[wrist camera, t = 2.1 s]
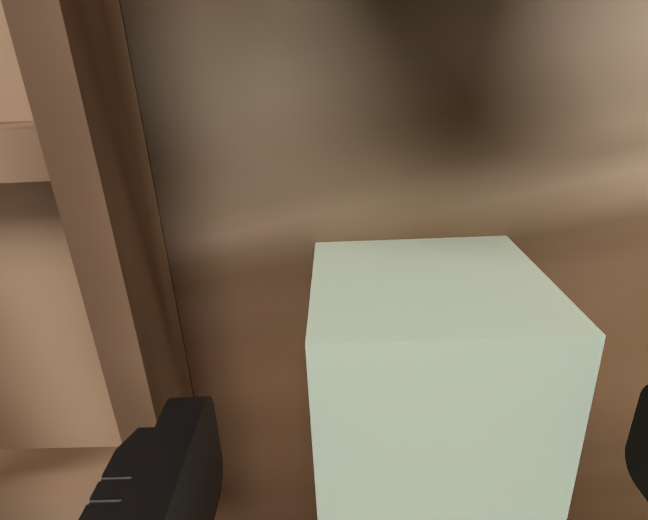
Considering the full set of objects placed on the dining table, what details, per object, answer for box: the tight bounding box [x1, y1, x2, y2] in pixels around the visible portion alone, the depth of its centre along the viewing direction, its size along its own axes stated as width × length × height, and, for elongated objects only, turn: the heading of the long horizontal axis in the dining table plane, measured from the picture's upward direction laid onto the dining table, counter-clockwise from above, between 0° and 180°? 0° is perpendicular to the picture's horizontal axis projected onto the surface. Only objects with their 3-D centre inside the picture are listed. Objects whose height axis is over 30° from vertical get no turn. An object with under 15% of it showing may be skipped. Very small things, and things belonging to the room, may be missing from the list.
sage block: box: [305, 236, 606, 520], centre depth 11 cm, size 5×5×5 cm
